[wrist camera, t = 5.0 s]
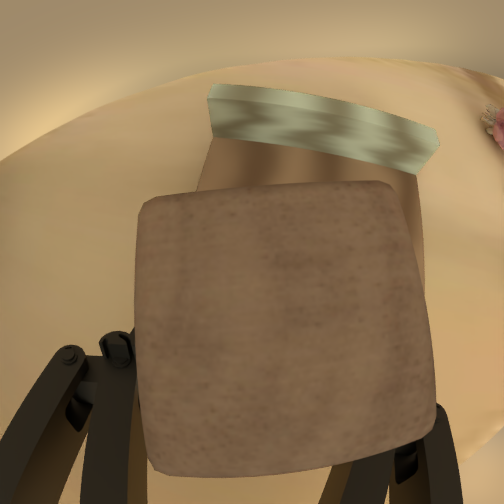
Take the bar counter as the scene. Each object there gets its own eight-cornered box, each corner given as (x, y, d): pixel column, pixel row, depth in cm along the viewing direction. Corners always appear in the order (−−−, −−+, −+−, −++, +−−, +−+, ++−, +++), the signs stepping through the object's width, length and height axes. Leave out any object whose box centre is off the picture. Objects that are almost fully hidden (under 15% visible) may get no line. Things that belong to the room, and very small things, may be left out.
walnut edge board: (182, 264, 23) (159, 234, 16) (219, 132, 27) (213, 83, 21) (415, 299, 22) (460, 282, 16) (407, 167, 26) (435, 129, 20)
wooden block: (176, 381, 20) (-30, 420, 3) (172, 323, 21) (-23, 226, 4) (295, 372, 20) (445, 437, 3) (289, 314, 21) (397, 170, 4)
